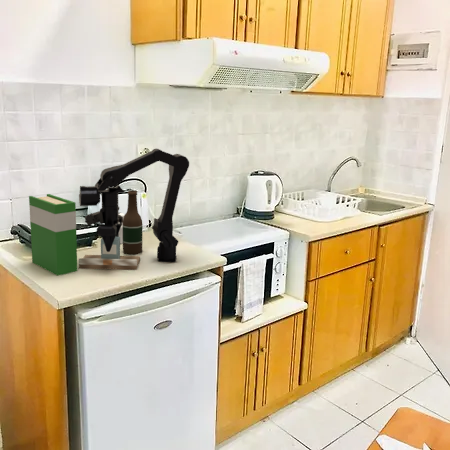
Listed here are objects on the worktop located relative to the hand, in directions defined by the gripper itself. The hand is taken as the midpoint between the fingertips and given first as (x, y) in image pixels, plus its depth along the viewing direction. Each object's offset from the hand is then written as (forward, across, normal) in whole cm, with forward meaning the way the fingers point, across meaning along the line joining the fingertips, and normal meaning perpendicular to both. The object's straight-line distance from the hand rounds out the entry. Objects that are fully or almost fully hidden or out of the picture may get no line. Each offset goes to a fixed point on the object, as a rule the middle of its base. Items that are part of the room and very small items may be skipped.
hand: (110, 247), depth 182 cm
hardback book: (+6, +5, -19) cm, 20 cm away
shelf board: (+6, 0, 0) cm, 6 cm away
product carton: (+4, 0, 0) cm, 5 cm away
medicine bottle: (+6, -28, -2) cm, 29 cm away
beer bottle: (+6, -14, +6) cm, 17 cm away
